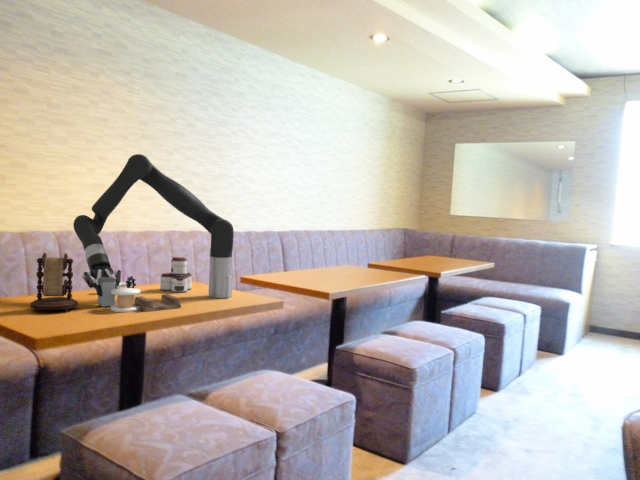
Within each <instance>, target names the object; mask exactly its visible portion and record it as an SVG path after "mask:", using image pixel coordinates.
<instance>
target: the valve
mask: <svg viewBox="0 0 640 480" xmlns="http://www.w3.org/2000/svg"><path fill="white" fill-rule="evenodd" d="M135 282H136V279H135V278H134V276H129V277H127V280H126V281H123V282H120V283H119V286H117V288H135V287H136V286H137V284H136V283H135Z"/></svg>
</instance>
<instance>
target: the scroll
mask: <svg viewBox="0 0 640 480" xmlns="http://www.w3.org/2000/svg"><path fill="white" fill-rule="evenodd" d="M36 262H37V269H36V270H37V271H36V274H35V275H36V277H37V279H38V280H37V282H36V283H37V285H36V289H37V291H36V292H37V295H36V298H37V299H35V300H33V301H32V302H30V306H29V307H30V309H33V312H34V313H35V314H36V313H38V310H40V311H41V310H43V311H44V310H45V311H55V310H64V312H65V313H67V312H68V311H69V309H73V308H75V307H78V305H79V303H78V301H77V300H76V299H74V298H73V293H72V292H73V291H72V290H73V285H72V284H73V281H72V279H73V277H74V272H73V267H72V266H73V263H74V260H73V258H68V254H67V252H65V253H64V255H63V257H51V256H49V257H48V256H47V253H46V252H43V254H42V256H41V257H39V258H37V260H36ZM66 269H67V272H66V273H65V271H66ZM65 277H67V279H63V278H65ZM63 280H64V281H63ZM64 296H66V297H64Z"/></svg>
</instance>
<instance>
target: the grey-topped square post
mask: <svg viewBox="0 0 640 480" xmlns="http://www.w3.org/2000/svg"><path fill="white" fill-rule="evenodd" d="M99 282H100V285H101V289H102V292H103V295H102V297H99V295H97V305H98V306H100V307H101V308H102V307H111V306H113V305H116V302H115V301H116V295H113V294H111V290H112V289H115V282H116V277H114V276H113V277H101V278H99Z"/></svg>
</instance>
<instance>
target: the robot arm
mask: <svg viewBox="0 0 640 480" xmlns="http://www.w3.org/2000/svg"><path fill="white" fill-rule="evenodd" d="M138 181H141V182H143V183H145V184H146V185H148V186H150V187H151V188H152V189H153V190H154V191H155V192H156V193H157V194H159V195H160V196H161V197H162V199H163V200H165V201H166V202H167V203H169V205H171V206H172V207H173V208H175V210H177V211H179V212H180V213H181V214H183V215H185V216H186V217H188V218H190V219H192V220H193V221H195V222H197V223H198V224H199V225H201V226H202V227H203V228H204V229H205V230H206V231H207V232H208V233H209V234H210V249H209V250H210V251H209V271H208V272H209V273H208V274H209V275H208V297H209V298H214V299H229V298H230V297H232V295H233V274H232V261H233V260H232V259H233V250H234V249H233V248H234V227H233V225H232V222H230V221H229V220H227V219H225V218H223V217H221V216H219V215H218V214H216V213H215V212H213V211H211V210H210V209H209V208H208V207H207V206H206V205H205V204H204V202H202V201H201V200H200V199H199V197H197V196H196V195H195V194H193V193H192V192H191V191H190V190H189V189H187V188H186V187H185V186H183V185H182V184H180V183H178V182H177V181H175V180H174V179H172V178H170V177H168V176H167V175H165V174H164V173H163V172H162V171H160V169H158V168H157V167H156V166H155V165H154V164H153V163H152V162H151V160H150V159H149V158H148V157H147V156H145V155H144V154H142V153H136V154H134V155H132V156H130V157H129V158H128V160H127V162H126V164H125V165H124V167H123V168H122V170H121V172H120V174H119V175H118V176H117V177H116V179H115V180H114V181H113V182H112V184H111V185H110V186H108V188H107V189H106V190H105V191H104V192H103V193H102V194H101V195H100V197H99V198H98V199H97V200H96V202H95V203H93V204H92V207H91V212H93V214H94V216H93V218H91V217H90V216H88V215H85V214H79V215H78V216H76V217H75V219H74V221H73V230H74V232H75V234H76V236H77V237H78V239H79V240H80V242H81V244H82V247H83V251H84V256H85V261H86V264H87V267H88V270H89V271H84V272H83V274H82V278H83V280H84V282H85V283H86V285H87V287H88V288H90V289H92V288H94V289H95V291H96V295H97V296H98V295H99V297H102V295H103V292H102V289H101V285H100V282H99V278H101V277H113V278H116V282H115V289H117V286H119V283H122V282H121V279H122V278H121V277H122V276H121V274H122V271H121V270H120V269H118V270H114V269H113V268H112V267H111V262H110V260H109V256H108V252H107V250H106V249H105V246H104V243H103V239H102V238H101V236H100V235H99V234H100V233H101V232H102V230H103V228H104V226H105V224H106V222H107V219H108V218H109V216H110V215H111V214H112V212H113V211H115V209H116V208H117V206H119V204H120V203H121V201H122V200H123V199H124V197H125V195H126V194H127V193H128V191H129V190H130V189H131V188H132V187H133V186H134V184H136V183H137V182H138ZM92 278H93V279H92Z"/></svg>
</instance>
